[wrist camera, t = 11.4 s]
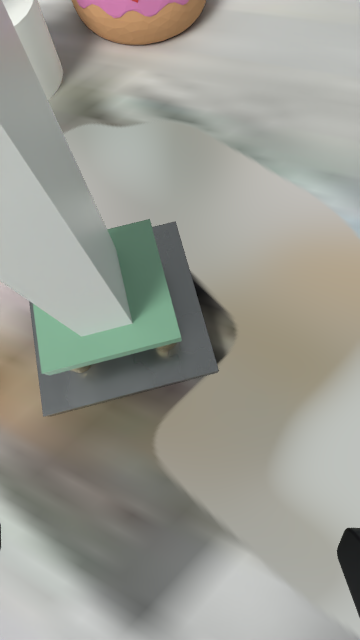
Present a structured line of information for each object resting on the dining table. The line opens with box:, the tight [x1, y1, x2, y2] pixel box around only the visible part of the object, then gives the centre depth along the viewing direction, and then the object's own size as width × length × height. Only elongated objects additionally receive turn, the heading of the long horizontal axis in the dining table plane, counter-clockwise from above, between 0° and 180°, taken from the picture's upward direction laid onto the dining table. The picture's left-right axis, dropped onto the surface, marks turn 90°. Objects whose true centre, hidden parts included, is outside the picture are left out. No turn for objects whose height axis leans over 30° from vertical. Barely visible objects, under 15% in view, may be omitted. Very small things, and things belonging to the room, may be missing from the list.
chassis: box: [29, 222, 219, 416], centre depth 21 cm, size 12×12×4 cm
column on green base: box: [0, 0, 182, 375], centre depth 13 cm, size 8×8×14 cm
